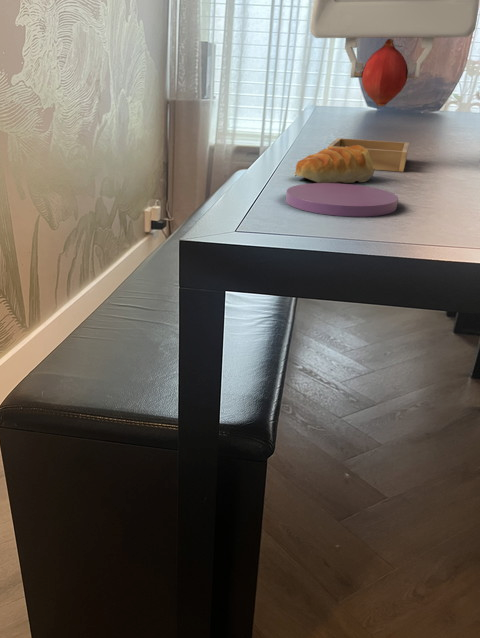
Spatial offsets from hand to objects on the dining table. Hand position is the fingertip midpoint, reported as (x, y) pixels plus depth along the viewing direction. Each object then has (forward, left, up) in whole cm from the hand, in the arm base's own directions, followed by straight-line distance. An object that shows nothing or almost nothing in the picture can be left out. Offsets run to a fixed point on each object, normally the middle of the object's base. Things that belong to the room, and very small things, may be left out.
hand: (383, 78), depth 80 cm
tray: (+1, 0, -11) cm, 11 cm away
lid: (+14, +25, -11) cm, 30 cm away
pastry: (+10, +12, -11) cm, 19 cm away
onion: (0, 0, -4) cm, 4 cm away
